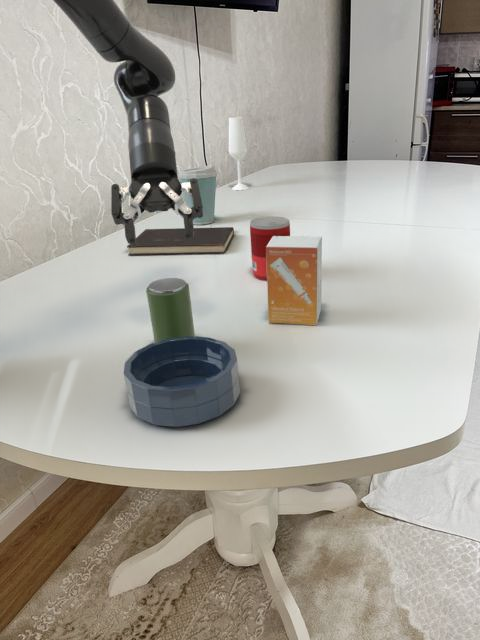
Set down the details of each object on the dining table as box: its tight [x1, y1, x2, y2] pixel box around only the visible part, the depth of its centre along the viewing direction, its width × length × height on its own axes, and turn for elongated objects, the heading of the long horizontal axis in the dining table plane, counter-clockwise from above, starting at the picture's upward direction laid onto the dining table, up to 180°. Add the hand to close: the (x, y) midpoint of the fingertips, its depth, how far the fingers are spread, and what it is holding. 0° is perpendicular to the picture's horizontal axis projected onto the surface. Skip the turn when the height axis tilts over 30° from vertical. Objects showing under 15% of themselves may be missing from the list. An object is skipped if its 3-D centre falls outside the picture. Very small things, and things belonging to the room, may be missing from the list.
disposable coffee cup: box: [178, 165, 218, 226], centre depth 146 cm, size 11×11×15 cm
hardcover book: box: [126, 226, 235, 257], centre depth 129 cm, size 16×23×2 cm
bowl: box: [123, 335, 241, 428], centre depth 65 cm, size 14×14×6 cm
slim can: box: [145, 277, 196, 343], centre depth 76 cm, size 6×6×10 cm
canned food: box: [249, 216, 291, 282], centre depth 104 cm, size 8×8×11 cm
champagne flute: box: [228, 116, 250, 191], centre depth 187 cm, size 7×7×24 cm
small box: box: [266, 235, 323, 326], centre depth 84 cm, size 8×6×13 cm
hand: (161, 241), depth 82 cm, fingers open, 8 cm apart
